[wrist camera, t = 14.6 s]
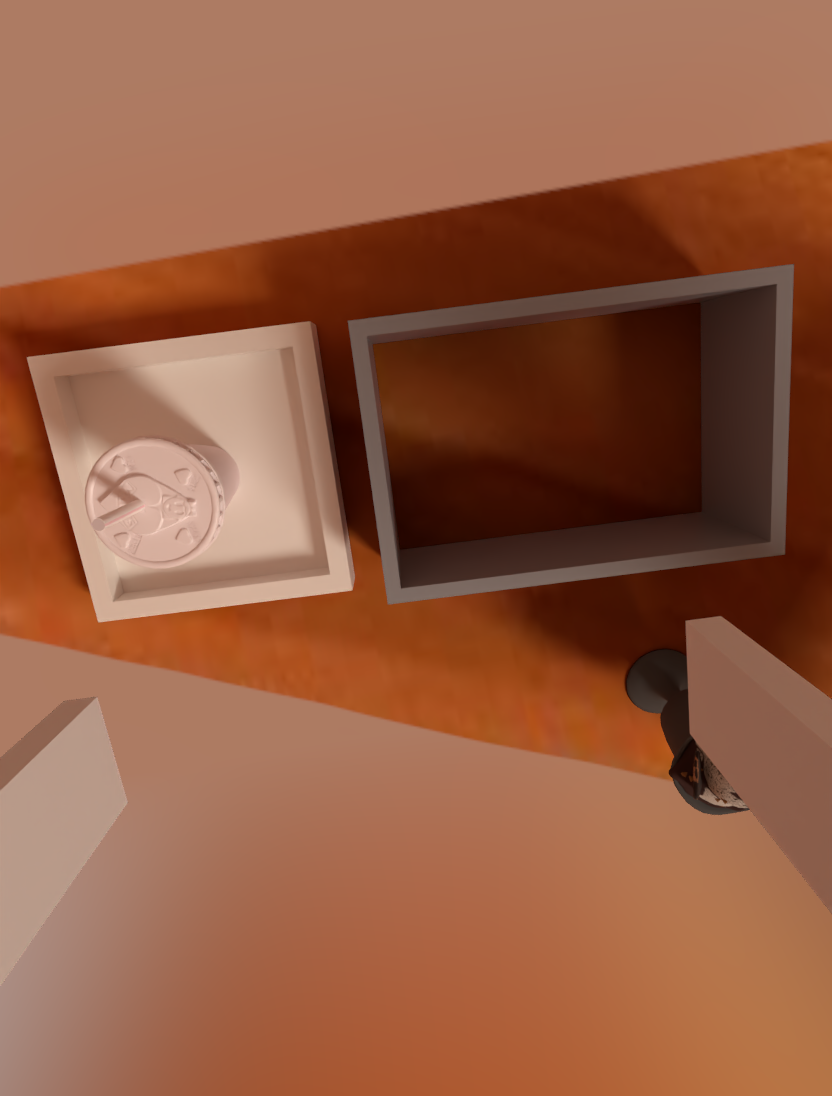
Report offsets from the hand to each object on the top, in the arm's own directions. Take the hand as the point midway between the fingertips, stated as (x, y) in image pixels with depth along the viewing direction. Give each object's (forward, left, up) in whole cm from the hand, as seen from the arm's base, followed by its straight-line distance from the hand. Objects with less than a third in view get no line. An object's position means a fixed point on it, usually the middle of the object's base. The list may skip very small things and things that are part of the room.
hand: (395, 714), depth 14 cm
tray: (+10, +6, -28) cm, 30 cm away
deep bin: (-5, -9, -28) cm, 30 cm away
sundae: (-23, -1, -28) cm, 36 cm away
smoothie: (+10, +6, -27) cm, 29 cm away
